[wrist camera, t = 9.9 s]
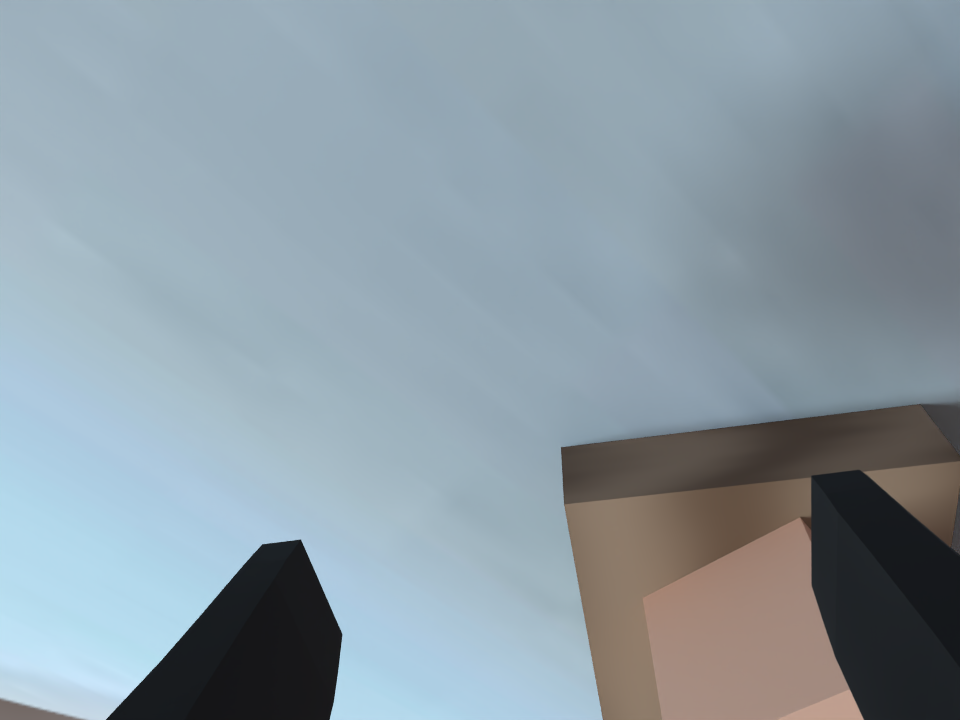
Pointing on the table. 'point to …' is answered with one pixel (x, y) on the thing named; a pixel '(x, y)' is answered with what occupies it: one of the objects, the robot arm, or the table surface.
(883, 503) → the robot arm
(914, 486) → the walnut base block
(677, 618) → the terracotta cube
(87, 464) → the table surface
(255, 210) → the table surface
